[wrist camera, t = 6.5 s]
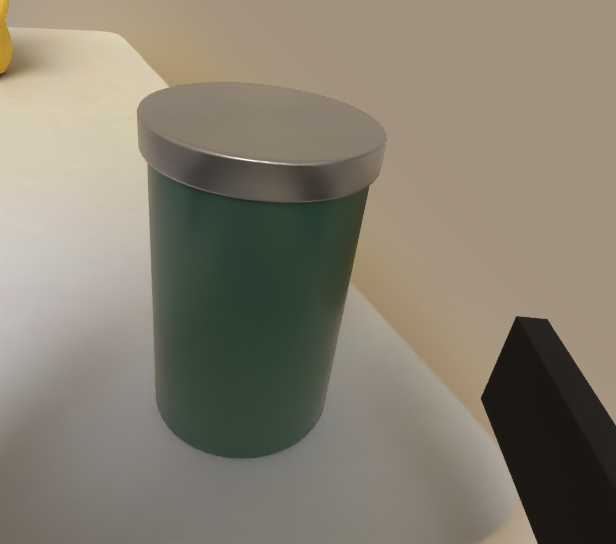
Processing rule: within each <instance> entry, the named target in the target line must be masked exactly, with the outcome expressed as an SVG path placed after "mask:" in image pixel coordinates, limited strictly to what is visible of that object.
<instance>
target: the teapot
mask: <svg viewBox="0 0 616 544" xmlns="http://www.w3.org/2000/svg"><path fill="white" fill-rule="evenodd" d="M8 4H9V0H0V73H3V72H4V71H5V70H6V68H7V67H8V65H9V62H10V60H11V58H12V54H13V47H12V42H11V38H10V35H9V32H8V29H7V26H6V23H5V18H6V16H7V12H8Z"/></svg>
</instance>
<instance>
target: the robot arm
mask: <svg viewBox="0 0 616 544" xmlns="http://www.w3.org/2000/svg"><path fill="white" fill-rule="evenodd" d="M481 400H482V403H483V405H484V408H485V411H486V413H487V416H488V418H489V420H490V423H491V426H492V428H493V431H494V433H495V436H496V438H497V441H498V444H499V446H500V449H501V451H502V454H503V456H504V459H505V461H506V464H507V466H508V469H509V472H510V474H511V477H512V479H513V482H514V484H515V487H516V489H517V492H518V494H519V497H520V500H521V502H522V505H523V507H524V510H525V512H526V515H527V517H528V520H529V522H530V525H531V528H532V530H533V533H534V535H535V538H536V540H537V543H538V544H616V425H615V424H614V422H613V421H612V419H611V417H610V416H609V415H608V413H607V411H606V410H605V408H604V407H603V405H602V404H601V402H600V400H599V399H598V397H597V396H596V394H595V393H594V391H593V390H592V388H591V386H590V385H589V383H588V382H587V380H586V379H585V377H584V376H583V374H582V373H581V371H580V369H579V368H578V366H577V365H576V363H575V362H574V360H573V358H572V357H571V356H570V354H569V352H568V351H567V349H566V348H565V346H564V344H563V343H562V341H561V340H560V339H559V337H558V336H557V334H556V332H555V331H554V329H553V328H552V326H551V324H550V323H549V321H548V320H547V319H539V318H529V317H519V316H517V317H516V318H515V321H514V323H513V325H512V327H511V330H510V332H509V334H508V337H507V339H506V341H505V344H504V346H503V348H502V351H501V353H500V355H499V357H498V360H497V363H496V364H495V367H494V369H493V371H492V374H491V376H490V378H489V381H488V383H487V385H486V387H485V390H484V393H483V394H482V397H481Z"/></svg>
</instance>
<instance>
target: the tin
mask: <svg viewBox="0 0 616 544" xmlns="http://www.w3.org/2000/svg"><path fill="white" fill-rule="evenodd" d="M137 124H138V144H139V150H140V152H141V154H142V156H143V158H144V159H145V160H146V161H147V166H148V193H149V219H150V246H151V272H152V299H153V326H154V352H155V379H156V399H157V405H158V409H159V412H160V414H161V416H162V418H163V420H164V421H165V423H166V424H167V425H168V427H169V428H170V429H171V430H172V431H173V432H174V433H175V434H176V435H177V436H178V437H179V438H181V439H182V440H183V441H185V442H186V443H188V444H190V445H191V446H193V447H195V448H197V449H200V450H202V451H205V452H208V453H211V454H215V455H219V456H225V457H234V458H250V457H259V456H265V455H269V454H272V453H276V452H279V451H281V450H283V449H286V448H288V447H290V446H291V445H293V444H295V443H297V442H298V441H299V440H301V439H302V438H303V437H305V436H306V435H307V434H308V433H309V432H310V431H311V429H312V428H313V427H314V426H315V424H316V423H317V421H318V419H319V417H320V415H321V413H322V410H323V406H324V402H325V397H326V392H327V387H328V383H329V378H330V373H331V368H332V363H333V358H334V354H335V349H336V344H337V339H338V334H339V330H340V325H341V320H342V315H343V310H344V306H345V301H346V296H347V291H348V286H349V281H350V276H351V272H352V267H353V262H354V257H355V253H356V248H357V243H358V238H359V233H360V228H361V223H362V219H363V214H364V209H365V204H366V200H367V195H368V190H369V185H371V184H372V183H373V182H374V181H375V179H376V178H377V177H378V175H379V173H380V169H381V165H382V160H383V156H384V151H385V146H386V141H387V137H386V132H385V130H384V128H383V126H382V125H381V124H380V123H379V122H378V121H377V120H375V119H374V118H373V117H371V116H370V115H368V114H367V113H365V112H363V111H361V110H359V109H357V108H355V107H353V106H351V105H348V104H346V103H343V102H341V101H337V100H335V99H332V98H329V97H325V96H321V95H317V94H314V93H310V92H306V91H301V90H296V89H291V88H284V87H278V86H271V85H263V84H253V83H238V82H236V83H235V82H208V83H194V84H186V85H179V86H174V87H170V88H166V89H162V90H159V91H156V92H154V93H152V94H150V95H148V96H147V97H145V98H144V99H143V100H142V101H141V102H140V104H139V106H138V109H137Z"/></svg>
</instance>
